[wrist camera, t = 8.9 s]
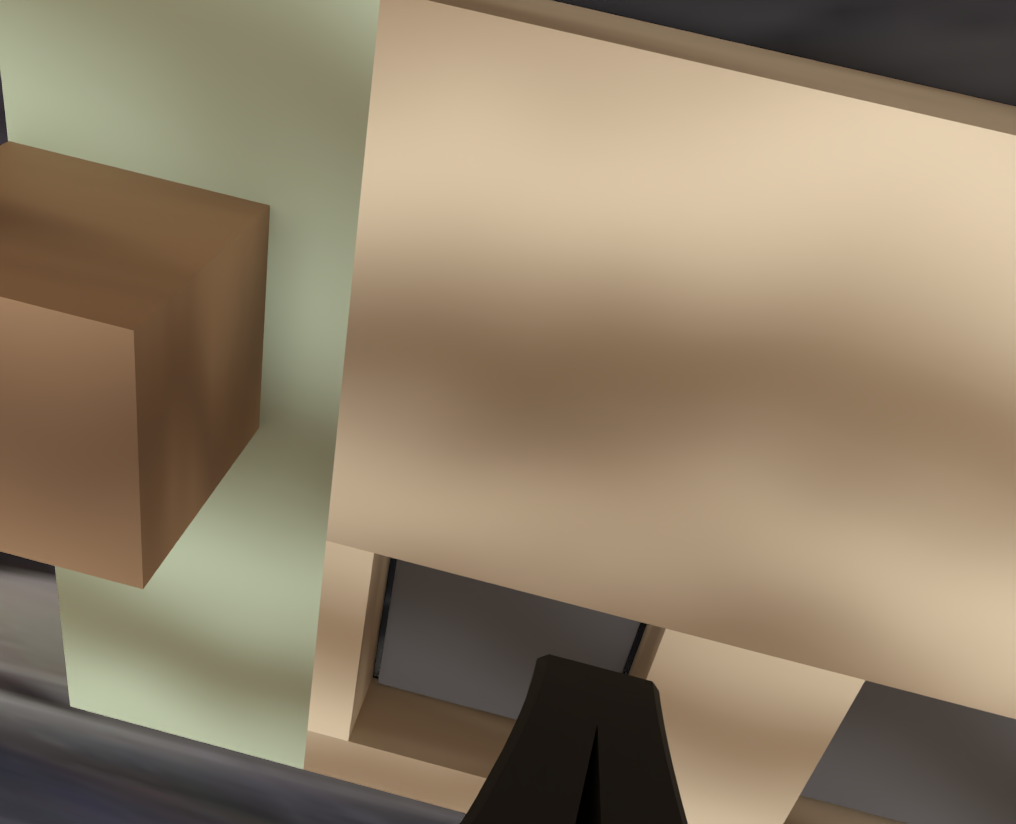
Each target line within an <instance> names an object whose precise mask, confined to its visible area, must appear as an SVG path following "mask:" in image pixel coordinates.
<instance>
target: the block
mask: <svg viewBox="0 0 1016 824" xmlns="http://www.w3.org/2000/svg"><path fill="white" fill-rule="evenodd" d="M269 219H270V205H266V204H262V203H258V202H254V201H250V200H246V199H242V198H238V197H234V196H230V195H226V194H222V193H218V192H214V191H210V190H206V189H202V188H198V187H193V186H189V185H185V184H181V183H177V182H173V181H169V180H165V179H161V178H157V177H153V176H149V175H145V174H141V173H137V172H133V171H129V170H125V169H121V168H117V167H112V166H108V165H104V164H100V163H96V162H92V161H88V160H84V159H80V158H76V157H72V156H68V155H64V154H60V153H56V152H52V151H48V150H44V149H40V148H36V147H31V146H27V145H23V144H19V143H15V142H11V141H9V142H6V143H4V144H2V145H0V551H1V552H5V553H9V554H12V555H16V556H20V557H24V558H27V559H31V560H35V561H39V562H42V563H46V564H50V565H54V566H57V567H61V568H65V569H69V570H72V571H76V572H80V573H84V574H87V575H91V576H95V577H99V578H102V579H106V580H110V581H113V582H117V583H121V584H125V585H128V586H132V587H136V588H140V589H144V587H145V586H146V585H147V583H148V582H149V580H150V579H151V578H152V576H153V575H154V573H155V572H156V571H157V569H158V568H159V567H160V565H161V564H162V562H163V561H164V560H165V558H166V557H167V555H168V554H169V553H170V551H171V550H172V548H173V547H174V546H175V544H176V543H177V541H178V540H179V539H180V537H181V536H182V535H183V533H184V532H185V530H186V529H187V528H188V526H189V525H190V523H191V522H192V521H193V519H194V518H195V516H196V515H197V514H198V512H199V511H200V509H201V508H202V507H203V505H204V504H205V503H206V501H207V500H208V498H209V497H210V496H211V494H212V493H213V491H214V490H215V489H216V487H217V486H218V484H219V483H220V482H221V480H222V479H223V477H224V476H225V475H226V473H227V472H228V471H229V469H230V468H231V466H232V465H233V464H234V462H235V461H236V459H237V458H238V457H239V455H240V454H241V452H242V451H243V450H244V448H245V447H246V445H247V444H248V443H249V441H250V440H251V439H252V437H253V436H254V434H255V433H256V432H257V430H258V429H259V420H260V400H261V380H262V360H263V340H264V320H265V299H266V279H267V259H268V239H269Z"/></svg>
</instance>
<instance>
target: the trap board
mask: <svg viewBox="0 0 1016 824" xmlns="http://www.w3.org/2000/svg"><path fill="white" fill-rule="evenodd" d="M0 70H1V79H2V88H3V97H4V106H5V116H6V125H7V134H8V142H9V141H11V142H15V143H19V144H23V145H27V146H31V147H36V148H40V149H44V150H48V151H52V152H56V153H60V154H64V155H68V156H72V157H76V158H80V159H84V160H88V161H92V162H96V163H100V164H104V165H108V166H112V167H117V168H121V169H125V170H129V171H133V172H137V173H141V174H145V175H149V176H153V177H157V178H161V179H165V180H169V181H173V182H177V183H181V184H185V185H189V186H193V187H198V188H202V189H206V190H210V191H214V192H218V193H222V194H226V195H230V196H234V197H238V198H242V199H246V200H250V201H254V202H258V203H262V204H266V205H270V219H269V239H268V259H267V279H266V299H265V320H264V340H263V360H262V380H261V400H260V420H259V429H258V430H257V432H256V433H255V434H254V436H253V437H252V439H251V440H250V441H249V443H248V444H247V445H246V447H245V448H244V450H243V451H242V452H241V454H240V455H239V457H238V458H237V459H236V461H235V462H234V464H233V465H232V466H231V468H230V469H229V471H228V472H227V473H226V475H225V476H224V477H223V479H222V480H221V482H220V483H219V484H218V486H217V487H216V489H215V490H214V491H213V493H212V494H211V496H210V497H209V498H208V500H207V501H206V503H205V504H204V505H203V507H202V508H201V509H200V511H199V512H198V514H197V515H196V516H195V518H194V519H193V521H192V522H191V523H190V525H189V526H188V528H187V529H186V530H185V532H184V533H183V535H182V536H181V537H180V539H179V540H178V541H177V543H176V544H175V546H174V547H173V548H172V550H171V551H170V553H169V554H168V555H167V557H166V558H165V560H164V561H163V562H162V564H161V565H160V567H159V568H158V569H157V571H156V572H155V573H154V575H153V576H152V578H151V579H150V580H149V582H148V583H147V585H146V586H145V587H144V589H140V588H136V587H132V586H128V585H125V584H121V583H117V582H113V581H110V580H106V579H102V578H99V577H95V576H91V575H87V574H84V573H80V572H76V571H72V570H69V569H65V568H61V567H57V566H55V571H56V580H57V590H58V599H59V608H60V617H61V626H62V635H63V644H64V653H65V663H66V672H67V681H68V690H69V699H70V706H71V707H75V708H79V709H82V710H86V711H90V712H93V713H97V714H101V715H105V716H108V717H112V718H116V719H119V720H123V721H127V722H130V723H134V724H138V725H141V726H145V727H149V728H153V729H156V730H160V731H164V732H167V733H171V734H175V735H178V736H182V737H186V738H189V739H193V740H197V741H201V742H204V743H208V744H212V745H215V746H219V747H223V748H226V749H230V750H234V751H237V752H241V753H245V754H249V755H252V756H256V757H260V758H263V759H267V760H271V761H274V762H278V763H282V764H285V765H289V766H293V767H297V768H300V769H304V770H308V771H311V772H315V773H319V774H322V775H326V776H330V777H333V778H337V779H341V780H345V781H348V782H352V783H356V784H359V785H363V786H367V787H370V788H374V789H378V790H381V791H385V792H389V793H393V794H396V795H400V796H404V797H407V798H411V799H415V800H418V801H422V802H426V803H429V804H433V805H437V806H440V807H444V808H448V809H452V810H455V811H459V812H463V813H466V814H467V812H468V810H469V809H470V807H471V805H472V804H473V802H474V800H475V799H476V797H477V795H478V793H479V791H480V789H481V788H482V786H483V784H484V782H485V780H486V779H487V777H488V775H489V773H490V771H491V770H492V768H493V766H494V764H495V762H496V761H497V759H498V757H499V755H500V753H501V751H502V750H503V748H504V745H505V743H506V741H507V739H508V737H509V735H510V733H511V731H512V729H513V727H514V725H515V722H516V720H517V718H518V716H519V713H520V711H521V709H522V706H523V704H524V701H525V699H526V696H527V692H528V689H529V685H530V682H531V678H532V675H533V671H534V668H535V664H536V661H537V658H540V657H542V656H545V655H548V654H551V655H554V656H558V657H562V658H566V659H570V660H573V661H577V662H581V663H585V664H589V665H592V666H596V667H600V668H604V669H608V670H611V671H615V672H619V673H622V672H623V669H624V666H625V664H626V661H627V658H628V655H629V653H630V650H631V647H632V644H633V641H634V639H635V636H636V633H637V630H638V628H639V625H640V622H642V623H646V627H645V630H644V633H643V635H642V638H641V641H640V643H639V646H638V649H637V652H636V654H635V657H634V660H633V662H632V665H631V668H630V671H629V673H628V675H631V676H634V677H638V678H642V679H646V680H650V681H653V683H654V684H655V686H656V687H657V688H658V690H659V694H660V701H661V708H662V714H663V720H664V725H665V731H666V736H667V741H668V745H669V750H670V754H671V759H672V764H673V768H674V772H675V776H676V780H677V784H678V788H679V792H680V796H681V800H682V804H683V808H684V811H685V815H686V819H687V822H688V824H1016V106H1012V105H1007V104H1003V103H998V102H994V101H990V100H985V99H981V98H977V97H972V96H968V95H963V94H959V93H955V92H950V91H946V90H942V89H937V88H933V87H928V86H924V85H920V84H915V83H911V82H907V81H902V80H898V79H893V78H889V77H885V76H880V75H876V74H872V73H867V72H863V71H858V70H854V69H850V68H845V67H841V66H837V65H832V64H828V63H823V62H819V61H815V60H810V59H806V58H802V57H797V56H793V55H788V54H784V53H780V52H775V51H771V50H767V49H762V48H758V47H753V46H749V45H745V44H740V43H736V42H731V41H727V40H723V39H718V38H714V37H710V36H705V35H701V34H696V33H692V32H688V31H683V30H679V29H675V28H670V27H666V26H661V25H657V24H653V23H648V22H644V21H640V20H635V19H631V18H626V17H622V16H618V15H613V14H609V13H605V12H600V11H596V10H591V9H587V8H583V7H578V6H574V5H570V4H565V3H561V2H556V1H552V0H0ZM391 558H395V559H397V563H396V569H395V576H394V582H393V589H392V595H391V602H390V608H389V614H388V621H387V627H386V634H385V640H384V646H383V653H382V659H381V666H380V672H379V679H378V678H374V677H373V672H374V666H375V659H376V652H377V646H378V639H379V632H380V626H381V619H382V612H383V606H384V599H385V593H386V586H387V579H388V573H389V566H390V559H391Z"/></svg>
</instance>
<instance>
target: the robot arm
mask: <svg viewBox="0 0 1016 824" xmlns="http://www.w3.org/2000/svg"><path fill="white" fill-rule="evenodd" d="M460 824H688V822H687V819H686V815H685V811H684V808H683V804H682V800H681V796H680V792H679V788H678V784H677V780H676V776H675V772H674V768H673V764H672V759H671V754H670V750H669V745H668V741H667V736H666V731H665V725H664V720H663V714H662V708H661V701H660V694H659V690H658V688H657V687H656V686H655V684H654V683H653V681H650V680H646V679H642V678H638V677H634V676H631V675H627V674H623V673H619V672H615V671H611V670H608V669H604V668H600V667H596V666H592V665H589V664H585V663H581V662H577V661H573V660H570V659H566V658H562V657H558V656H554V655H551V654H548V655H545V656H542V657H540V658H537V661H536V664H535V668H534V671H533V675H532V678H531V682H530V685H529V689H528V692H527V696H526V699H525V701H524V704H523V706H522V709H521V711H520V713H519V716H518V718H517V720H516V722H515V725H514V727H513V729H512V731H511V733H510V735H509V737H508V739H507V741H506V743H505V745H504V748H503V750H502V751H501V753H500V755H499V757H498V759H497V761H496V762H495V764H494V766H493V768H492V770H491V771H490V773H489V775H488V777H487V779H486V780H485V782H484V784H483V786H482V788H481V789H480V791H479V793H478V795H477V797H476V799H475V800H474V802H473V804H472V805H471V807H470V809H469V810H468V812H467V814H466V815H465V817H464V818H463V820H462V822H461V823H460Z"/></svg>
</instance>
